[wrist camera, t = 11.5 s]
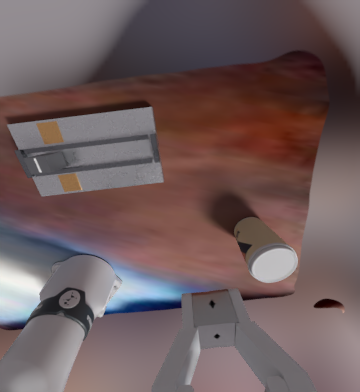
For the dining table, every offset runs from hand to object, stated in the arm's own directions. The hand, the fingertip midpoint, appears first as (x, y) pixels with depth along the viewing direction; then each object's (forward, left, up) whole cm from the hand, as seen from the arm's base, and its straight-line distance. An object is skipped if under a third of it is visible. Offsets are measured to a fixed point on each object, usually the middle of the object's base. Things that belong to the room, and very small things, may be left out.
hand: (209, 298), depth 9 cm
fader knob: (-8, +24, -27) cm, 37 cm away
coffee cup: (-8, -22, -29) cm, 38 cm away
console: (-4, +18, -29) cm, 34 cm away
